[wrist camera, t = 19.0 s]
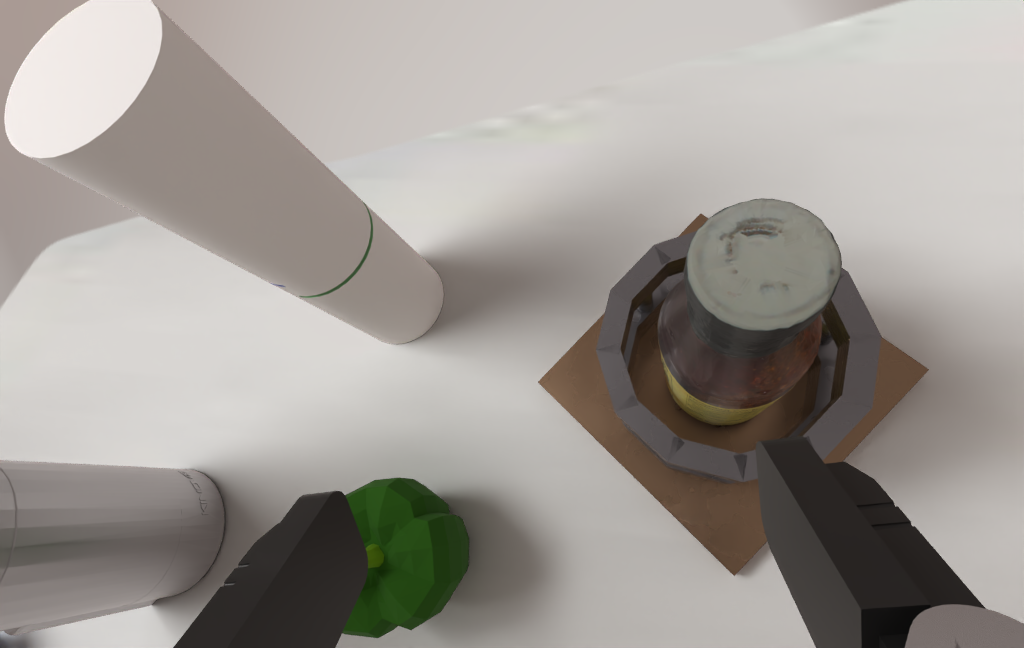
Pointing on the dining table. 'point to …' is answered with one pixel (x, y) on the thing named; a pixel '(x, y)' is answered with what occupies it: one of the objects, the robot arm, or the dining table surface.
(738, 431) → the collar stand
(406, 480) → the bell pepper
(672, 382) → the sauce bottle
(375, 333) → the cylindrical container
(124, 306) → the dining table surface
